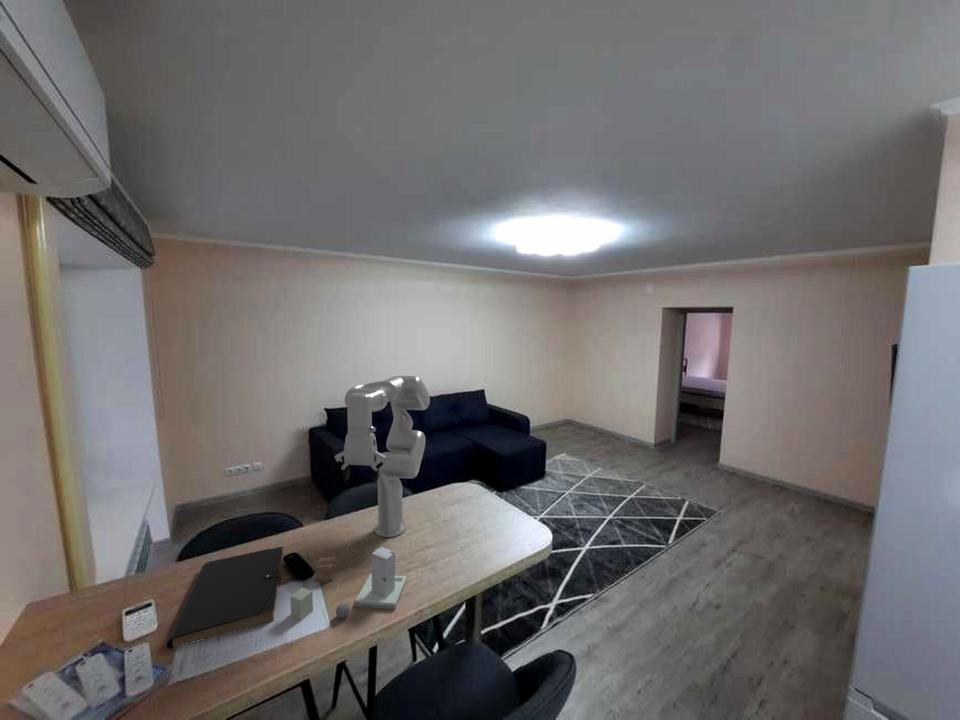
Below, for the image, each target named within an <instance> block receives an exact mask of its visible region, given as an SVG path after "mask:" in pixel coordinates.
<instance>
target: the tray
mask: <svg viewBox="0 0 960 720" xmlns="http://www.w3.org/2000/svg"><path fill="white" fill-rule="evenodd" d="M407 583H408V576H407V575H396V574H395V589H394V590H393V591H392V592H391V593H390V594H389V595H387V596H386V597H384V596H382V595H380V594H378V593H376V592H374V591H372V573H370V574H369V576H368V578H367V579H366V581H365V583H364V585H363V586H362V588H361V590H360V592H359V594H358V595H357V597H356V599H355V601H354V602H355V603H354V604H355V607H356V608H357V607H358V608H373V609H374V608H376V609H387V610H390V609H391V610H396V609H397V607H398V605H399V602H400V599H401V597H402V595H403V592H404V590H405V588H406V585H407Z"/></svg>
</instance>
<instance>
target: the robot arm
mask: <svg viewBox="0 0 960 720" xmlns="http://www.w3.org/2000/svg"><path fill="white" fill-rule="evenodd" d="M388 403H390V405H391V410H392V411H391V412H392V416H393V420H392V423H391V427H390V429H389V433H388V436H387V438H386V449H387V450H388V451H386V452H382V453H381V452H379V451H378V446H377V445H378V444H377V439H376V435H375V433H374V432H376V431H377V428H376V426H375V427H374V426H373V423H372V422H373V419H372V418H373V415H372V413H374V412H379V411H381V410H383V409H384V408H386V406H387V404H388ZM430 403H431V400H430V393H429V391H428V389H427V388H426V385H425V383H424V381H423V380H422V379H421V378H420V376H417V375H395V376H392V377H389V378H387V379H385V380H381V381H374V382H370V383H368V382H367V383H362V384H359V385H356V386H353V387H351V388H350V389H348V390H347V391H346V394H345V395H344V404H345V407H347V433H346V436H345V441H344V447H343V451H341V452H339V453H337V454H335V455H334V459H335V461H336V462H337V465H338V466H339V467H340V468H341V470H342V478H343V481H344V482H347V481H348V480H349V479H350V478H351V469H350V466H370V467H371V468H372V472H371V473H372V474H371V476H372V477H371V478H372V481H371V482H372V483H373V484H375V483H377V514H378V522H377V523H376V524H375V525H374V529H373V530H374V534H376V536H379V537H382V538H393V537H397V536H400V535H402V534H403V533H405V531H406V530H407V528H408V527H407V522H405V520H403V517H404V516H403V513H404V512H403V485H402V482H401V480H400V479H408V480H409V479H415V478H416V477H417V475H418V473H419V471H420V467H421V463H422V460H423V456H424V453H425V448H426V435H425V433H424V432H423V431H420V430H417V429H416V430H414V429H413V426H414V421H413V419H412V417H411V415H410V413H409V412H407V410H409V411H410V410H411V411H412V410H413V411H425V410H427V409H428V408H429V406H430ZM342 457H343V459H342Z"/></svg>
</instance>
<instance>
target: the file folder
mask: <svg viewBox="0 0 960 720" xmlns="http://www.w3.org/2000/svg"><path fill="white" fill-rule="evenodd" d="M283 548H284V546H283V545H282V546H277V547H275V548H267V549H262V550H258V551H252V552H250V553H249V552H248V553H244V554H238V555H235V556H229V557H225V558H220V559H215V560H211V561H208V562H206V563H204V564H203V565H202V566H201V568H200V570H199V573H198V574H197V577H196V579H195V581H194V584H192V585H193V586H192V588H191V590H190V592H189V595H188V596H187V598H186V601H185V603H184V605H183V607H182V609H181V611H180V614H179V616H178V618H177V620H176V622H175V625H174V626H173V629H172V631H171V633H170V635H169V637H168V640H167V642H166V648H167V649H168V650H171V648H172V647H173V649H174V648H178V647H180V646H179V645H182V644H185V645H187V644H186V643H189V644H192V643H191V642H193V641H197V640H200V641H202V640H201V639H204V640H208V639H211V637H212V638H214V636H216V637H219V636H222V635H226V634H227V635H228V634H231V633H235V632H238V631H242V630H245V629H248V628H252V627H255V626H256V627H257V626H260V625H263V624H267V623H271V622H274V621H275V620H274V619H275V618H274V616H275V610H276V603H277V598H278V592H277V591H278V590H277V589H278V587H279V588H281V587H280V586H281V585H280V583H279V581H281V577H280V571H281V563H282V557H283V556H284V555H283V554H284V553H283ZM282 555H283V556H282ZM234 631H235V632H234ZM197 642H198V641H197ZM193 643H194V642H193ZM177 646H178V647H177ZM182 646H183V645H182Z"/></svg>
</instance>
